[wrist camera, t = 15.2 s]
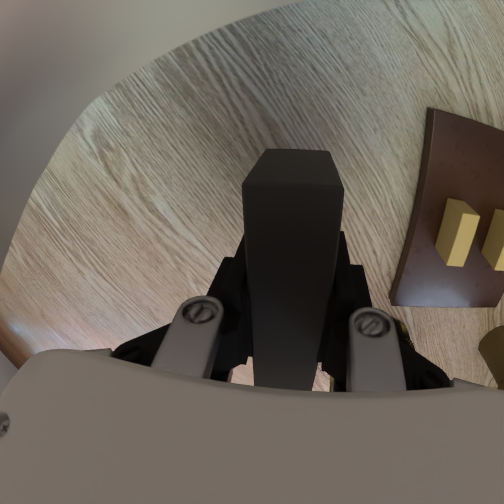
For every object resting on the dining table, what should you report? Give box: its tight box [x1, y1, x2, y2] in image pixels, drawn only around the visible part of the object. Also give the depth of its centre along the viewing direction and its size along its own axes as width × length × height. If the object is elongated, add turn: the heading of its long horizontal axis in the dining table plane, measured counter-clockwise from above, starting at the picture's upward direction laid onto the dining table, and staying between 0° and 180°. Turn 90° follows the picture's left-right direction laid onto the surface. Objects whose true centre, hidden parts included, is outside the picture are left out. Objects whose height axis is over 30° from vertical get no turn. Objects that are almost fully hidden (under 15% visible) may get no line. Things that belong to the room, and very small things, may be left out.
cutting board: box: [389, 108, 504, 308], centre depth 21 cm, size 20×16×2 cm
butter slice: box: [435, 198, 480, 267], centre depth 20 cm, size 5×2×3 cm, turn 1°
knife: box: [242, 149, 344, 391], centre depth 13 cm, size 20×2×4 cm, turn 3°
